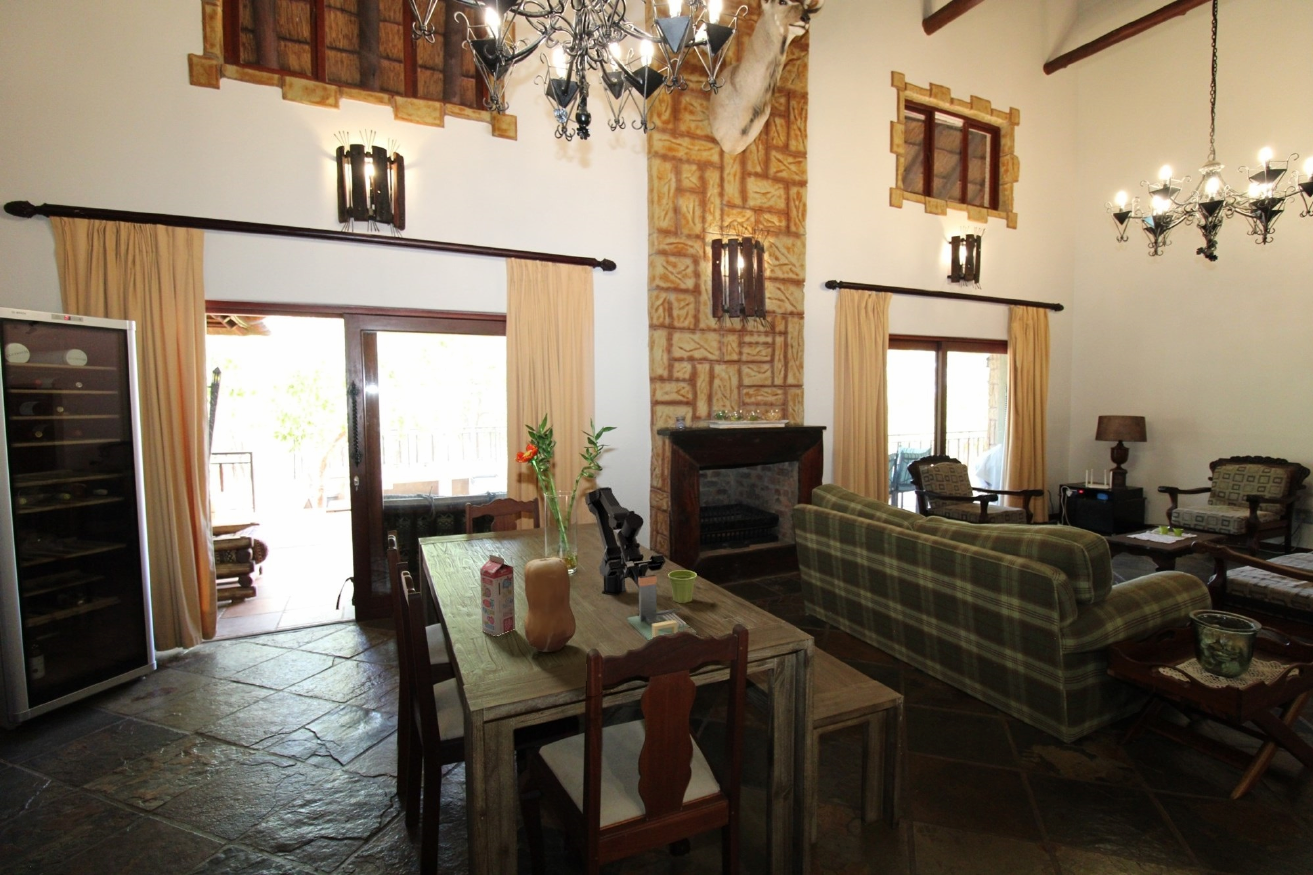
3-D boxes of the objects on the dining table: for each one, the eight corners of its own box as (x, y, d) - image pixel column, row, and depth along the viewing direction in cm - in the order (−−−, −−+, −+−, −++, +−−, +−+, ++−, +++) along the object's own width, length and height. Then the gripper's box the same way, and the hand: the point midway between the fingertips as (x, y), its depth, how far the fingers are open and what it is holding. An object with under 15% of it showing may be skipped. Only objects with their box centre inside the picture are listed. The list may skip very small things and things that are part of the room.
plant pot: (694, 606, 195) (694, 579, 194) (665, 604, 197) (665, 578, 196) (698, 596, 204) (698, 570, 203) (671, 594, 206) (670, 569, 205)
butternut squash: (543, 636, 172) (541, 549, 170) (585, 643, 167) (583, 554, 165) (514, 656, 160) (511, 563, 157) (558, 664, 154) (555, 568, 152)
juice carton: (501, 624, 181) (498, 552, 179) (515, 629, 177) (513, 555, 175) (482, 631, 176) (479, 557, 174) (496, 637, 172) (493, 561, 170)
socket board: (627, 620, 183) (627, 606, 183) (669, 612, 189) (669, 599, 189) (650, 643, 167) (650, 628, 167) (696, 634, 172) (696, 619, 172)
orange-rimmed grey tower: (638, 619, 181) (638, 576, 180) (678, 612, 186) (678, 571, 185) (648, 628, 174) (648, 584, 173) (689, 621, 180) (689, 578, 178)
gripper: (649, 555, 203) (663, 598, 194) (595, 562, 196) (607, 607, 186) (658, 537, 195) (673, 580, 186) (603, 544, 188) (616, 589, 179)
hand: (642, 590), depth 184 cm, fingers closed
